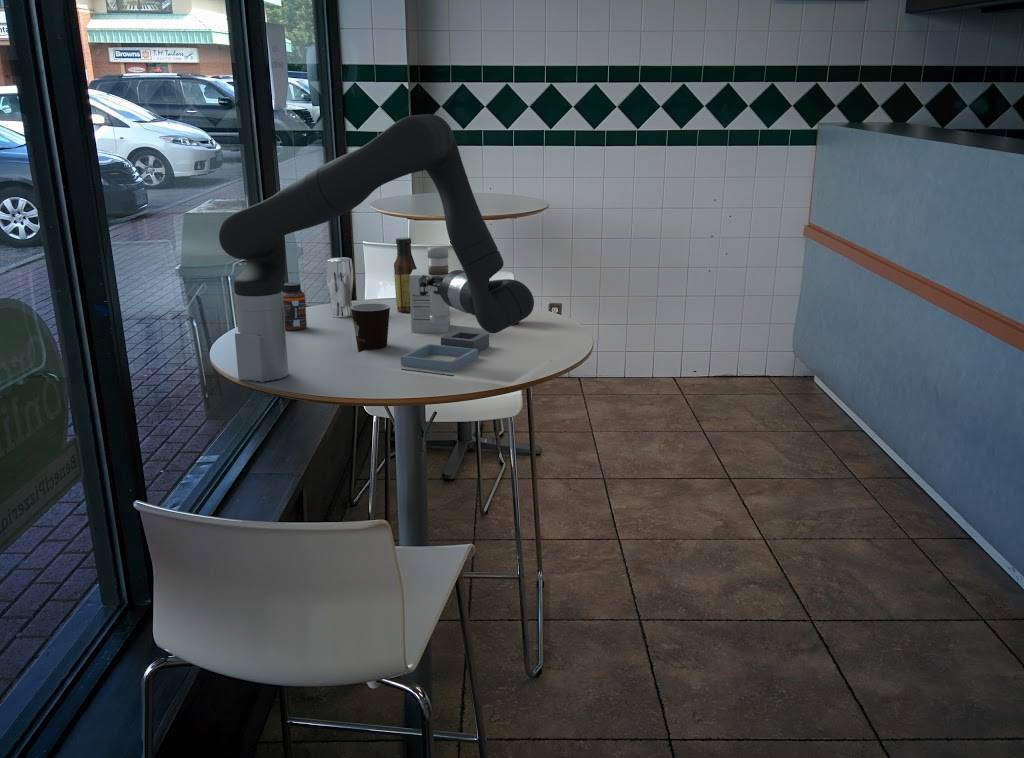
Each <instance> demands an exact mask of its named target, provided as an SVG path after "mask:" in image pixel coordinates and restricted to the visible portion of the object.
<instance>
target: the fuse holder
mask: <svg viewBox="0 0 1024 758" xmlns="http://www.w3.org/2000/svg"><path fill="white" fill-rule="evenodd" d="M440 345H444V346H453V347H462V348H471V349H478V353H480V352H482V351H484V350H486V349H488V348H490V333H489V332H477V331H476V332H475V331H468V330H454V331H452V332H451V333H448V334H446V335H444V336H441V337H440Z"/></svg>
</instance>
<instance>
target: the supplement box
mask: <svg viewBox="0 0 1024 758" xmlns="http://www.w3.org/2000/svg"><path fill="white" fill-rule="evenodd" d="M422 275H427V276H429V271H428V269H427V268H426V269H425V268H424V269H421V268H417V269H415V270H413V271H412V272H411V274H410V276H409V277H410V307H411V312H410V330H411V331H410V332H411V333H418V334H419V333H448V331H449V329H450V325H447V326H432V325H430V293H429V291H428V294H426V295H424V296H422V295H420V292H419V279H420V278H422Z"/></svg>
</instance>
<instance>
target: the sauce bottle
mask: <svg viewBox="0 0 1024 758" xmlns="http://www.w3.org/2000/svg"><path fill="white" fill-rule="evenodd" d="M395 244H396V250H397V252H396V253H397V254H396V255H397V256H396V259H395V261H394V262H393V270H394V271H393V272H394V274H393V275H394V276H393V277H394V289H395V302H396V303H395V304H396V309H397V312H399V313H406V312H408V313H411V307H410V277H409V276H410V274H411V272H412V271H413V270H415V269H418V268H417V265H416V263H415V260H414V257H413V254H412V245H411V244H412V238H411V237H409V236H408V237H407V236H406V237H402V236H401V237H396V238H395Z"/></svg>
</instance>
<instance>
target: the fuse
mask: <svg viewBox="0 0 1024 758" xmlns="http://www.w3.org/2000/svg"><path fill="white" fill-rule="evenodd" d="M426 249H427V258H428V265H427V267H428V269H427V270H428V271H429V277H435V276H439V277H445V276H446V275H447V274H448V273H450V272H449V246H447V245H432V246H430V245H429V246H427V248H426ZM429 293H430V325H432V326H447V325H449V326H450V325H451V313H450V306H449V305H447V304H446V303H445V302H444V300H443V299H442V297H441V296H440V295H438V294H433V293H432V291H429Z"/></svg>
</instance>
